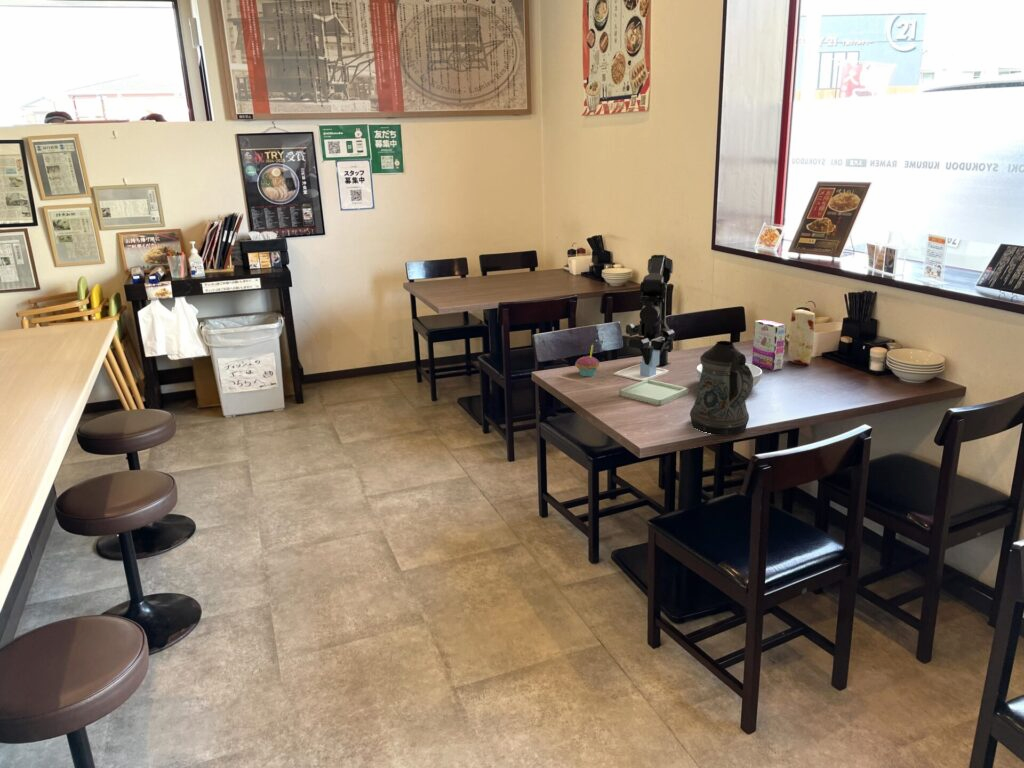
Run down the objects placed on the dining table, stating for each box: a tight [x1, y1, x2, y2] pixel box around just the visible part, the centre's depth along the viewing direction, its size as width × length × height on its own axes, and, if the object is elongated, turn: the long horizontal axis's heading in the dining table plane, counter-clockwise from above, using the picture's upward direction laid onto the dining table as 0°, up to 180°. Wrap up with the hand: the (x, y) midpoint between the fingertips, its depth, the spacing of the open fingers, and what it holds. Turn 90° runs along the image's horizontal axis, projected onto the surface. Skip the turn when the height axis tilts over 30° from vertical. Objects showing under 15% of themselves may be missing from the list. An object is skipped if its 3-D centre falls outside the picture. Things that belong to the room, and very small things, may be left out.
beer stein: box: [689, 340, 754, 436], centre depth 213 cm, size 16×19×25 cm
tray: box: [618, 379, 689, 407], centre depth 246 cm, size 16×16×2 cm
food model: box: [787, 308, 816, 366], centre depth 271 cm, size 10×7×20 cm
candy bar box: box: [751, 319, 787, 372], centre depth 269 cm, size 11×5×16 cm, turn 25°
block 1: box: [641, 349, 660, 367], centre depth 247 cm, size 4×4×5 cm
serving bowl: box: [696, 362, 763, 389], centre depth 249 cm, size 21×21×7 cm
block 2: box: [639, 360, 657, 377], centre depth 264 cm, size 4×4×5 cm
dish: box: [612, 363, 670, 382], centre depth 267 cm, size 15×13×1 cm
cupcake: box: [574, 344, 600, 377], centre depth 266 cm, size 9×8×12 cm
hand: (650, 363), depth 248 cm, fingers closed on block 1, 4 cm apart
